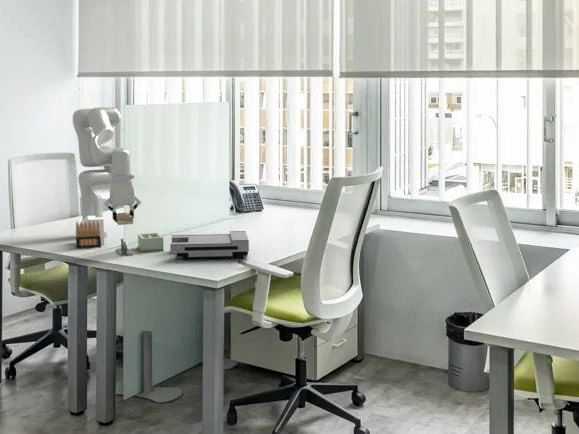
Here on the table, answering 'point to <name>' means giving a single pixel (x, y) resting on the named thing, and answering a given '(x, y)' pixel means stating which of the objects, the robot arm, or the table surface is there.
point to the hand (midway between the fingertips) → (123, 220)
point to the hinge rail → (124, 249)
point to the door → (124, 219)
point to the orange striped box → (101, 225)
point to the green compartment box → (150, 242)
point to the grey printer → (211, 246)
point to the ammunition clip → (87, 235)
